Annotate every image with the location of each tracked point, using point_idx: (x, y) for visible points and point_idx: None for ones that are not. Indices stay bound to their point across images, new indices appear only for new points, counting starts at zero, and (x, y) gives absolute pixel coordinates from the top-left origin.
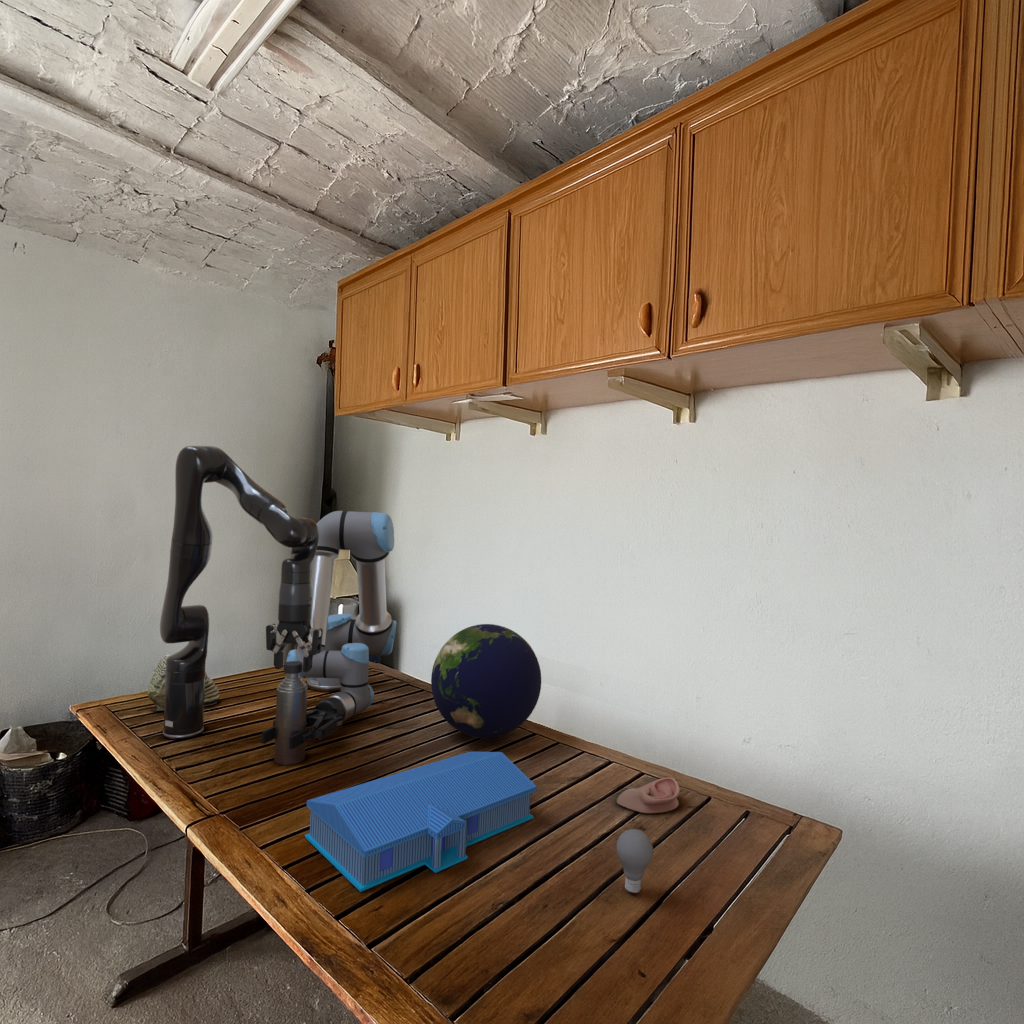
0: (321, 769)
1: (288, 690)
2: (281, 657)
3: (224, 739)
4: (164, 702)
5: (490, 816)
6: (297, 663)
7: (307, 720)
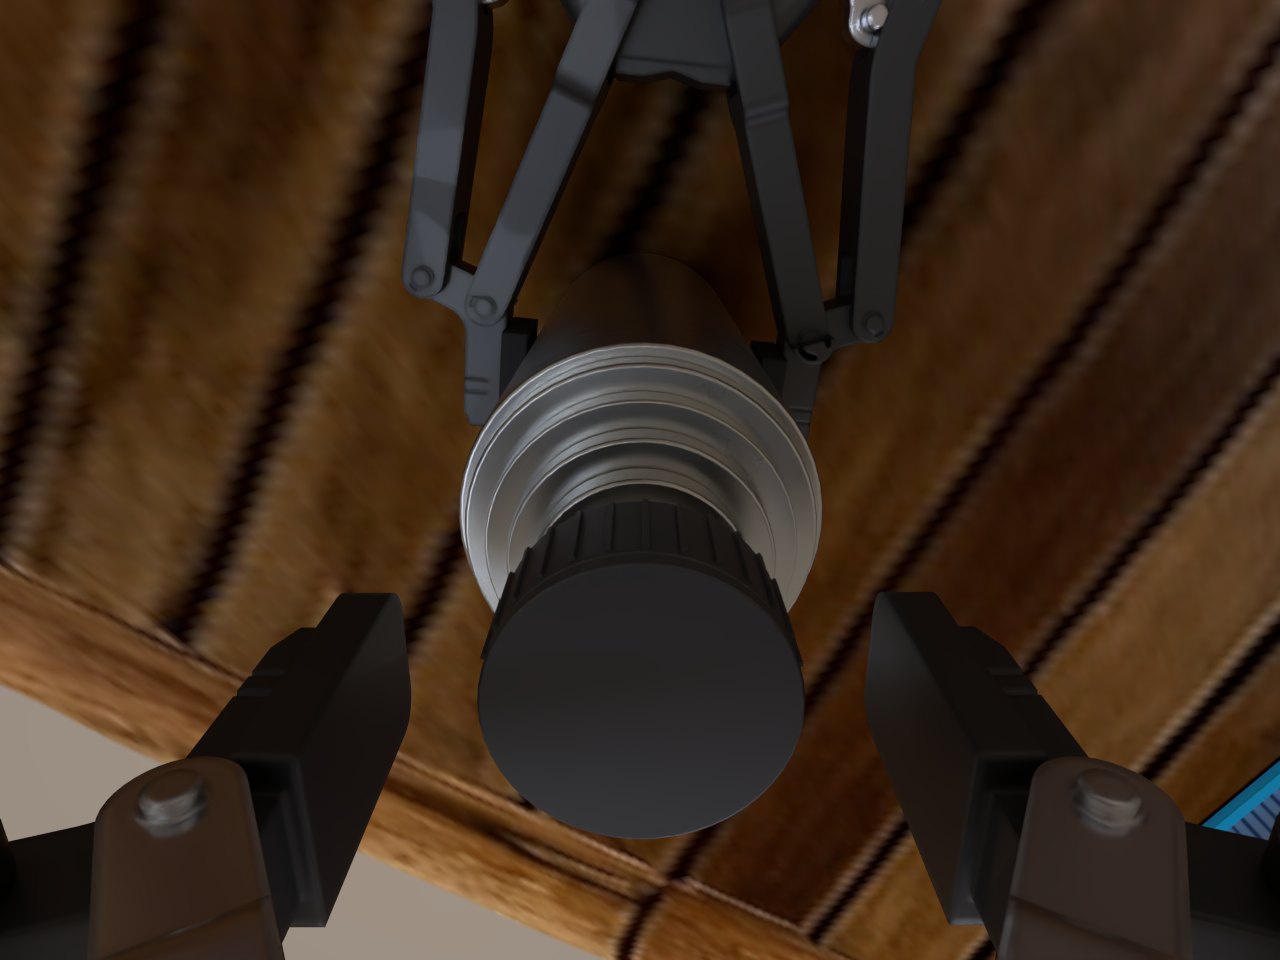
0: (891, 415)
1: None
2: (339, 744)
3: (35, 193)
4: None
5: None
6: (720, 697)
7: (616, 75)
